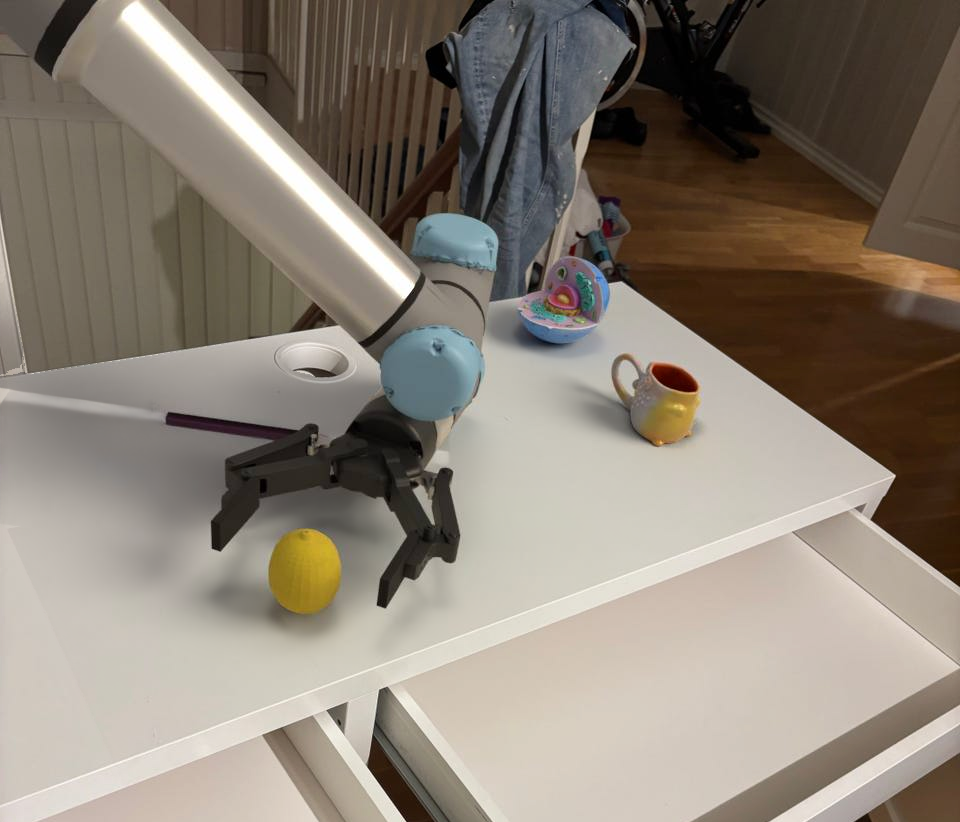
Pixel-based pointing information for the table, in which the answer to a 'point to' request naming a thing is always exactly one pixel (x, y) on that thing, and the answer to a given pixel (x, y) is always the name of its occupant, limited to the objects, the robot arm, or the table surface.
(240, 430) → the dark purple flat bar
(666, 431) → the mug
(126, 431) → the table surface
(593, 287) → the cell model
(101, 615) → the table surface
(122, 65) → the robot arm
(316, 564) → the lemon
